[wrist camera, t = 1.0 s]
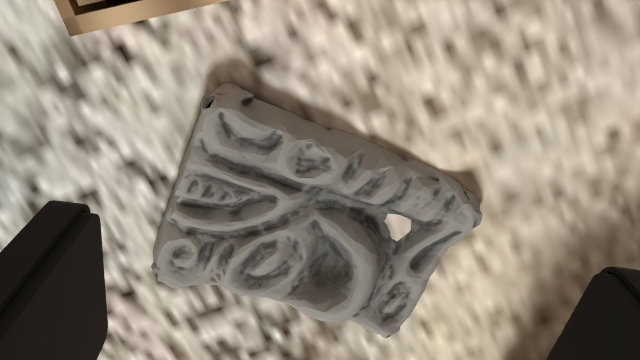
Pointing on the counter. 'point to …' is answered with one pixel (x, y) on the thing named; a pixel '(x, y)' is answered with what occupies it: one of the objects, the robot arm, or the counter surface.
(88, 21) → the rack
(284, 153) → the wall plaque
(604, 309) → the robot arm
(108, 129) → the counter surface
